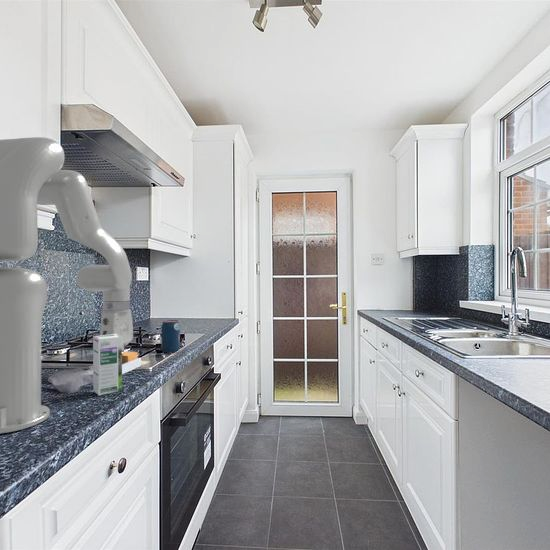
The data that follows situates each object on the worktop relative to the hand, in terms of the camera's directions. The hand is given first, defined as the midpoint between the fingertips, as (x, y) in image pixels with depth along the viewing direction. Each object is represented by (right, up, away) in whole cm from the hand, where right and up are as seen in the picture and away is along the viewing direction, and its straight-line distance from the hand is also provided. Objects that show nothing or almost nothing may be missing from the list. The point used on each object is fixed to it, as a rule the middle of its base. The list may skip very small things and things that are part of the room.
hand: (116, 366), depth 108 cm
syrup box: (+5, -3, -16) cm, 17 cm away
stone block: (-7, -3, -12) cm, 14 cm away
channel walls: (0, -2, 0) cm, 2 cm away
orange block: (+1, -1, +5) cm, 5 cm away
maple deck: (+1, -2, +2) cm, 3 cm away
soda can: (+8, -2, +31) cm, 32 cm away
